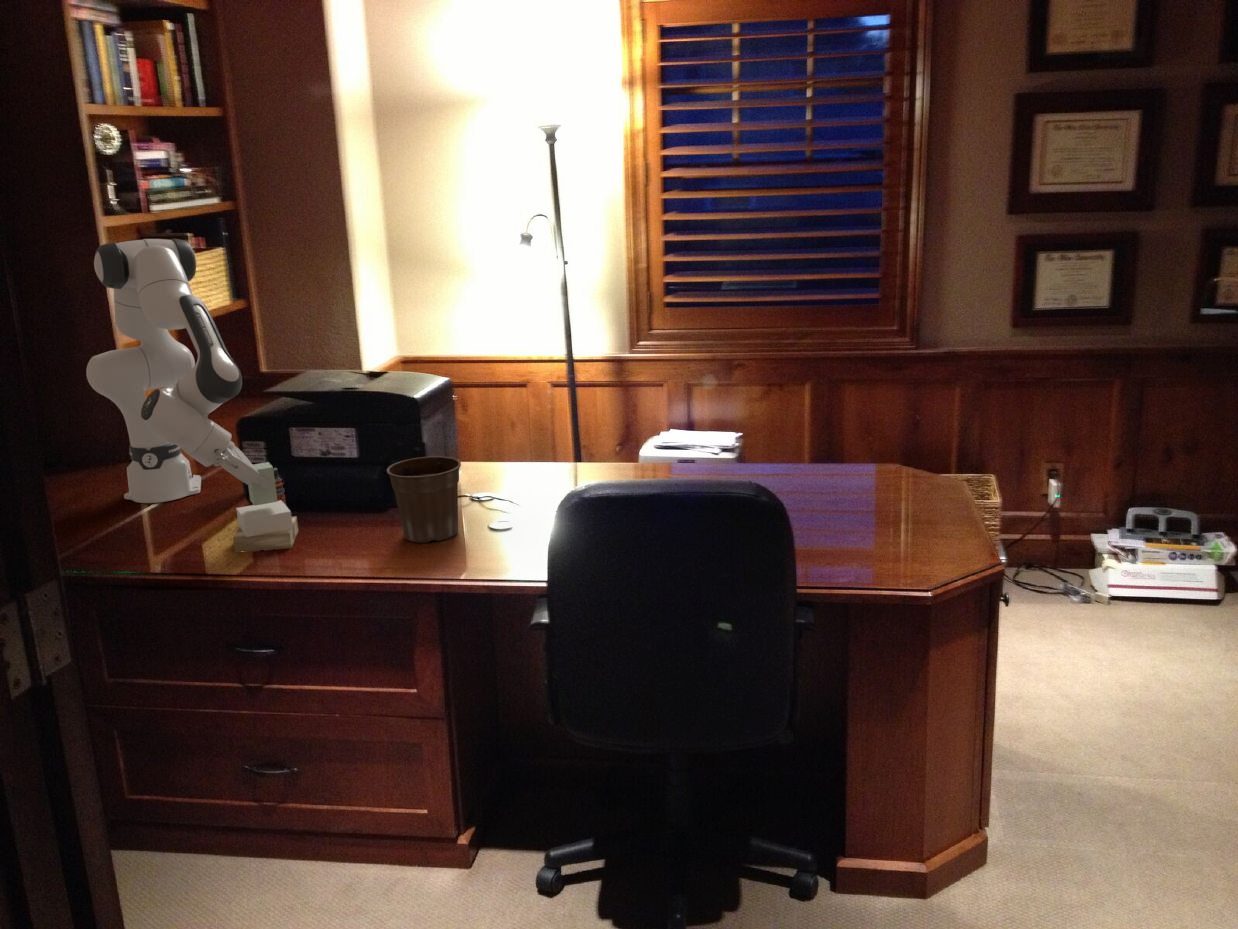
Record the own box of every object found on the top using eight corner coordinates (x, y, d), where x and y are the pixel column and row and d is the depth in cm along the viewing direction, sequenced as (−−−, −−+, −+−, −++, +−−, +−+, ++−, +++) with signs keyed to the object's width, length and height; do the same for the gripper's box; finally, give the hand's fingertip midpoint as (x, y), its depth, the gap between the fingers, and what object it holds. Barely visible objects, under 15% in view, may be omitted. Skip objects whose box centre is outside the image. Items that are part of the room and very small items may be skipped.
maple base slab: (245, 537, 255) (242, 520, 253) (298, 532, 256) (296, 516, 255) (235, 555, 243) (233, 538, 242) (291, 550, 245) (289, 533, 244)
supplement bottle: (279, 518, 265) (273, 473, 262) (257, 517, 266) (250, 472, 263) (291, 510, 271) (285, 466, 268) (269, 509, 272) (263, 465, 269)
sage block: (250, 500, 248) (245, 465, 246) (273, 496, 250) (268, 462, 248) (254, 505, 244) (249, 470, 242) (277, 501, 246) (273, 467, 244)
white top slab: (238, 524, 251) (236, 508, 250) (283, 516, 255) (281, 500, 254) (246, 537, 242) (244, 519, 241) (293, 528, 246) (290, 511, 245)
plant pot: (379, 543, 245) (371, 473, 241) (417, 520, 260) (411, 453, 255) (443, 550, 239) (437, 478, 235) (479, 526, 254) (473, 458, 249)
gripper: (229, 444, 231) (283, 481, 238) (214, 425, 248) (264, 460, 255) (210, 468, 230) (264, 504, 237) (196, 447, 248) (247, 482, 255)
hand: (264, 481), depth 246 cm, fingers closed on sage block, 5 cm apart
